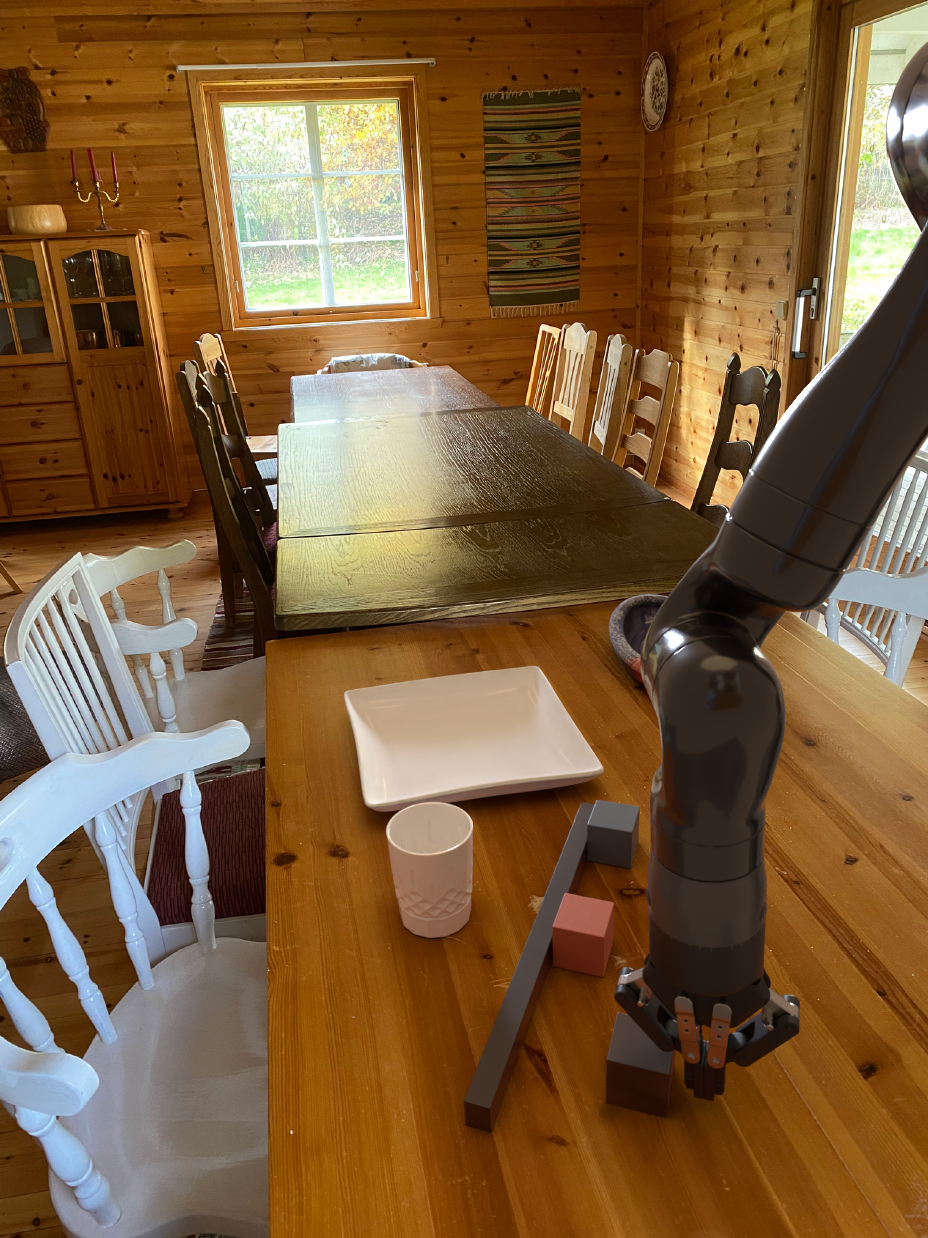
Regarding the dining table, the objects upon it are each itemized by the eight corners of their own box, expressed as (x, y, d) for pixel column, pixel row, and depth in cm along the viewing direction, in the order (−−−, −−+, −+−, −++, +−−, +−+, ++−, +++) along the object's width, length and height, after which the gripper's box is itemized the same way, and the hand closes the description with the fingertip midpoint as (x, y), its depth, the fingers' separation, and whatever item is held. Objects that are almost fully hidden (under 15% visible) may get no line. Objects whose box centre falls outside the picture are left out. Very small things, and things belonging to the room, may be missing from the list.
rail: (599, 824, 99) (599, 804, 98) (491, 1132, 66) (490, 1108, 65) (581, 821, 99) (581, 801, 98) (465, 1125, 67) (463, 1101, 66)
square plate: (368, 834, 99) (364, 805, 97) (345, 713, 123) (342, 687, 122) (606, 795, 103) (607, 766, 102) (538, 685, 128) (538, 660, 126)
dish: (695, 616, 147) (697, 587, 145) (744, 711, 119) (748, 677, 117) (598, 619, 148) (599, 590, 146) (625, 714, 120) (626, 680, 118)
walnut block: (674, 1068, 70) (677, 1025, 69) (666, 1119, 66) (669, 1075, 65) (615, 1054, 72) (617, 1012, 70) (605, 1103, 68) (606, 1059, 66)
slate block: (638, 842, 96) (639, 806, 94) (630, 869, 92) (632, 832, 90) (595, 834, 97) (596, 799, 95) (586, 861, 93) (587, 824, 91)
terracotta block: (613, 941, 83) (614, 902, 81) (603, 978, 79) (604, 937, 77) (564, 931, 84) (564, 892, 82) (552, 966, 80) (552, 926, 79)
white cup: (428, 875, 92) (421, 792, 88) (493, 904, 88) (489, 818, 84) (377, 922, 86) (368, 836, 82) (444, 956, 82) (438, 866, 78)
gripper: (813, 879, 61) (801, 1066, 68) (616, 854, 66) (623, 1032, 72) (814, 961, 55) (800, 1158, 62) (595, 926, 59) (605, 1114, 66)
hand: (704, 1089), depth 67 cm, fingers closed
